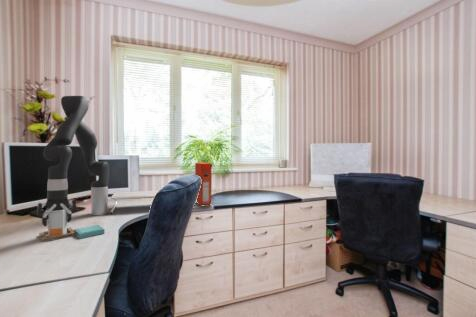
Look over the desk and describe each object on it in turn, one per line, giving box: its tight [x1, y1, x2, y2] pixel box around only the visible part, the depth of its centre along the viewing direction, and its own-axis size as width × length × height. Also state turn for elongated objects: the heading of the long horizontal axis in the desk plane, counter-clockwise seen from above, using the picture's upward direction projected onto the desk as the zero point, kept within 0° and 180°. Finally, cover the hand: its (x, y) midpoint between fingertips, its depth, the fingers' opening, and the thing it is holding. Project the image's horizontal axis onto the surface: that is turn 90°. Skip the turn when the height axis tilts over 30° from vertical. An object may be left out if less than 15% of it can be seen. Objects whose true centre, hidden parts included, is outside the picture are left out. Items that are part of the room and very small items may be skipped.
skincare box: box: [47, 209, 68, 238], centre depth 108 cm, size 6×4×12 cm
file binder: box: [194, 162, 212, 206], centre depth 182 cm, size 8×17×32 cm, turn 26°
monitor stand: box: [109, 190, 159, 215], centre depth 166 cm, size 37×28×11 cm
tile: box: [73, 224, 105, 240], centre depth 111 cm, size 10×10×2 cm
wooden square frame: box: [38, 227, 77, 242], centre depth 108 cm, size 12×12×1 cm
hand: (57, 223), depth 107 cm, fingers open, 8 cm apart
